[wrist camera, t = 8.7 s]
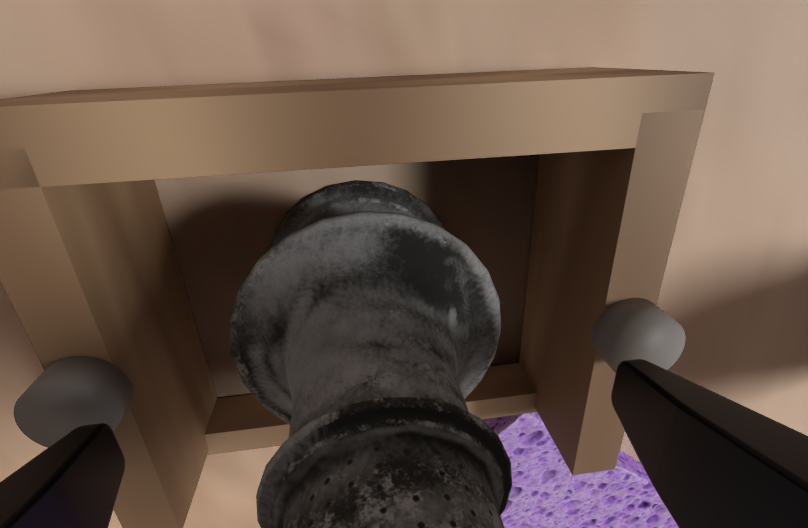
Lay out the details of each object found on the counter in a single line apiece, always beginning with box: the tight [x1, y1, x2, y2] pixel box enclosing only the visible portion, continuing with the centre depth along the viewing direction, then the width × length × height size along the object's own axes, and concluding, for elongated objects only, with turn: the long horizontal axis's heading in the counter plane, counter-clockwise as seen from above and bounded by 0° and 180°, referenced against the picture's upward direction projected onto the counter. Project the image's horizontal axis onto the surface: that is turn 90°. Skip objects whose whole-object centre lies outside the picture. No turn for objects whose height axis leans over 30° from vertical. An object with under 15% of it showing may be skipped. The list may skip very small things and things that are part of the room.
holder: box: [0, 67, 714, 528], centre depth 10 cm, size 13×10×5 cm
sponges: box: [482, 412, 679, 528], centre depth 18 cm, size 7×13×2 cm, turn 52°
